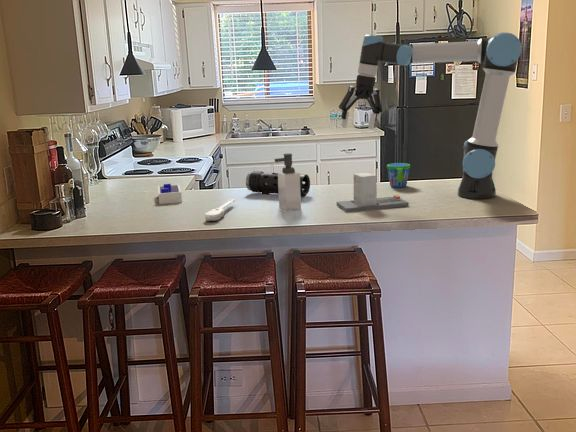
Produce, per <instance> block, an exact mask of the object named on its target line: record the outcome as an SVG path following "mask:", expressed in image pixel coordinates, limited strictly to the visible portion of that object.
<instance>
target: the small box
mask: <svg viewBox="0 0 576 432" xmlns="http://www.w3.org/2000/svg"><path fill="white" fill-rule="evenodd" d="M377 186H378V185H377V174H373V173H369V172H359V173H353V200H354V204H355V205H357V206H359V207H360V206H370V205H377V198H378V197H377V193H378V192H377V191H378V190H377Z"/></svg>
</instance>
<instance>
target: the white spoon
mask: <svg viewBox="0 0 576 432" xmlns="http://www.w3.org/2000/svg"><path fill="white" fill-rule="evenodd" d="M236 201H237V200H236V199H234V198H233V199H228V200H227V201H226V202H224V203H223V204H222V205H220V206H219V207H217V208H212V209H211V210H209V211H207V212H206V213H205V214H204V218H205V221H207V222H216V221H219V220H220V219H221V218H223V217H224V216H225V209H224V208H226V207H228V206H229V205H230V204H232V203H235V202H236Z"/></svg>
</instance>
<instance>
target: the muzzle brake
mask: <svg viewBox="0 0 576 432" xmlns="http://www.w3.org/2000/svg"><path fill="white" fill-rule="evenodd" d="M278 173H279V172H264V171H258V170H257V171H254V170H253V171H251V172H248V174H247V175H246V179H245V187H246V188H247V190H248V191H251V192H252V193H261V194H262V195H265V194H266V195H267V196H268V195H271V194H277V195H279V190H278ZM310 188H311V178H310V176H309V175H308V174H307V173H306V174H305V173H303V174H302V173H300V194H301V197H303V198H305V197H306V196H307V195H308V194H309V192H310Z"/></svg>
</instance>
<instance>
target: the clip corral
mask: <svg viewBox="0 0 576 432" xmlns="http://www.w3.org/2000/svg"><path fill="white" fill-rule="evenodd" d="M163 188H164V185H158V186H157V191H158V202H159V205H165V204H175V203H176V204H177V203H182V202H183V199H182V198H183V197H182V190H181V186H180V184H171V193H161V189H163Z"/></svg>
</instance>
